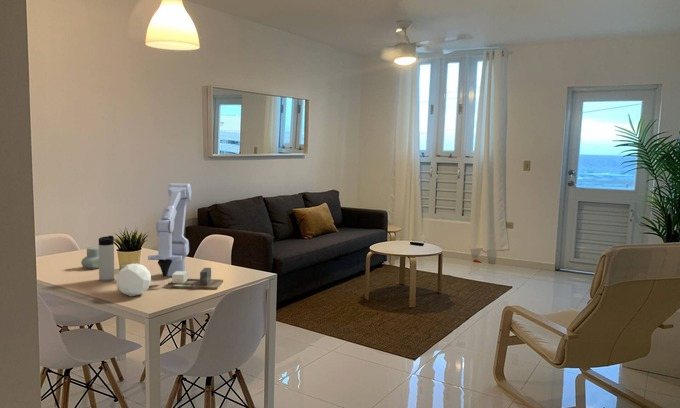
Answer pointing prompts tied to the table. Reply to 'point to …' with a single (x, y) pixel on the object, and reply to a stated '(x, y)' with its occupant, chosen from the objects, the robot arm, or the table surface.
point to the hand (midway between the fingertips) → (165, 276)
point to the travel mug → (106, 259)
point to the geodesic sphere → (133, 279)
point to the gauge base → (198, 282)
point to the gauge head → (179, 277)
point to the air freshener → (91, 258)
